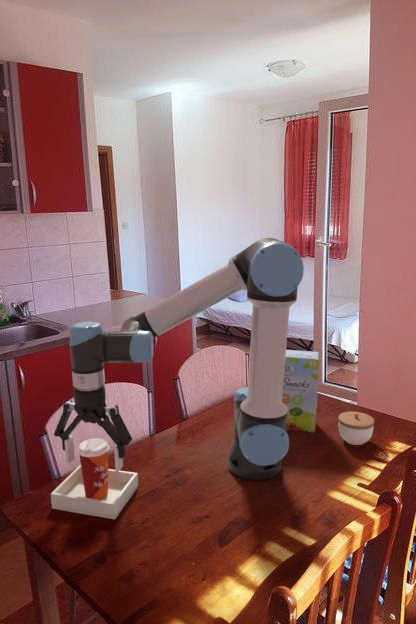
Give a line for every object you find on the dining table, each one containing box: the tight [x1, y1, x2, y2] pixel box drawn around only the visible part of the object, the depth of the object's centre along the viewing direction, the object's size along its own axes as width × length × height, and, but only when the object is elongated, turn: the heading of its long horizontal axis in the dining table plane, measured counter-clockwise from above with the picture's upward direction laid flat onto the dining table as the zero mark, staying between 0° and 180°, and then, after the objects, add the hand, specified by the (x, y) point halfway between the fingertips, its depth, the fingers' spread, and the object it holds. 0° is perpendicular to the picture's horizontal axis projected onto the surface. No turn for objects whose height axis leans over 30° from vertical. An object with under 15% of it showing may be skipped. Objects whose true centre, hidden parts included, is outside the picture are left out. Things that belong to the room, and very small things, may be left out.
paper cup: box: [77, 437, 110, 500], centre depth 121 cm, size 8×8×14 cm
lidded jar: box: [337, 411, 375, 446], centre depth 149 cm, size 11×11×9 cm
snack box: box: [282, 349, 320, 433], centre depth 159 cm, size 22×9×26 cm, turn 77°
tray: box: [50, 464, 139, 520], centre depth 122 cm, size 17×14×4 cm
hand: (94, 465), depth 121 cm, fingers open, 13 cm apart
